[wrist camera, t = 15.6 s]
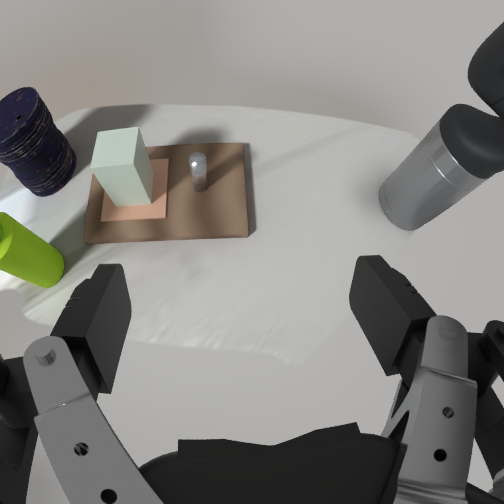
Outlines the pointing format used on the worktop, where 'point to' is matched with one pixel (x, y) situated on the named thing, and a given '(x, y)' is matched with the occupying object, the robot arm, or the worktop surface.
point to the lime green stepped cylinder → (28, 254)
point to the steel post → (198, 171)
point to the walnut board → (183, 200)
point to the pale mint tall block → (123, 166)
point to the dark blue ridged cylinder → (34, 143)
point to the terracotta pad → (142, 211)
